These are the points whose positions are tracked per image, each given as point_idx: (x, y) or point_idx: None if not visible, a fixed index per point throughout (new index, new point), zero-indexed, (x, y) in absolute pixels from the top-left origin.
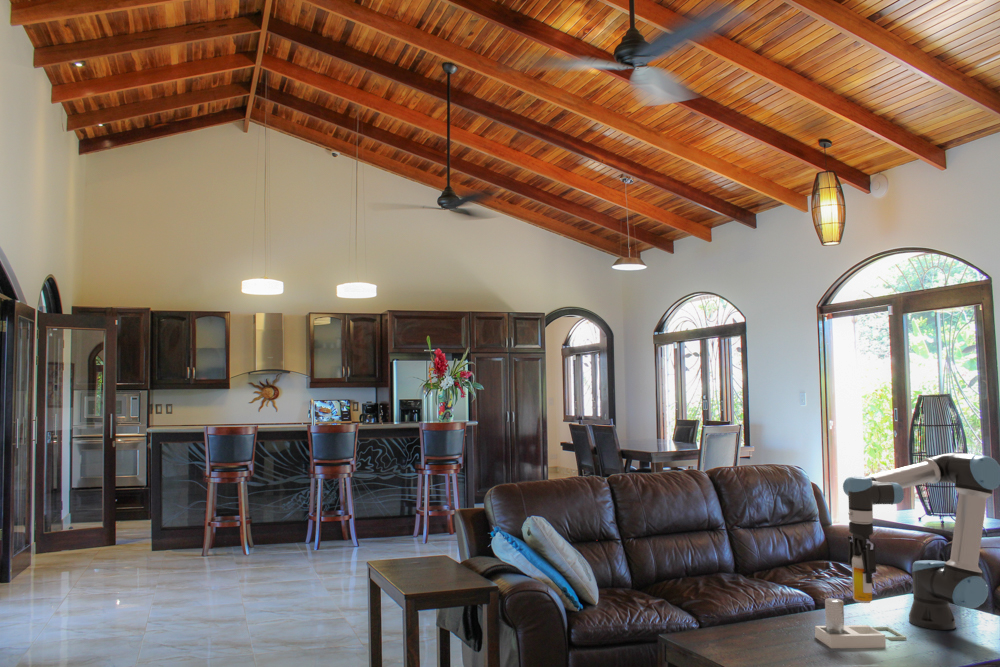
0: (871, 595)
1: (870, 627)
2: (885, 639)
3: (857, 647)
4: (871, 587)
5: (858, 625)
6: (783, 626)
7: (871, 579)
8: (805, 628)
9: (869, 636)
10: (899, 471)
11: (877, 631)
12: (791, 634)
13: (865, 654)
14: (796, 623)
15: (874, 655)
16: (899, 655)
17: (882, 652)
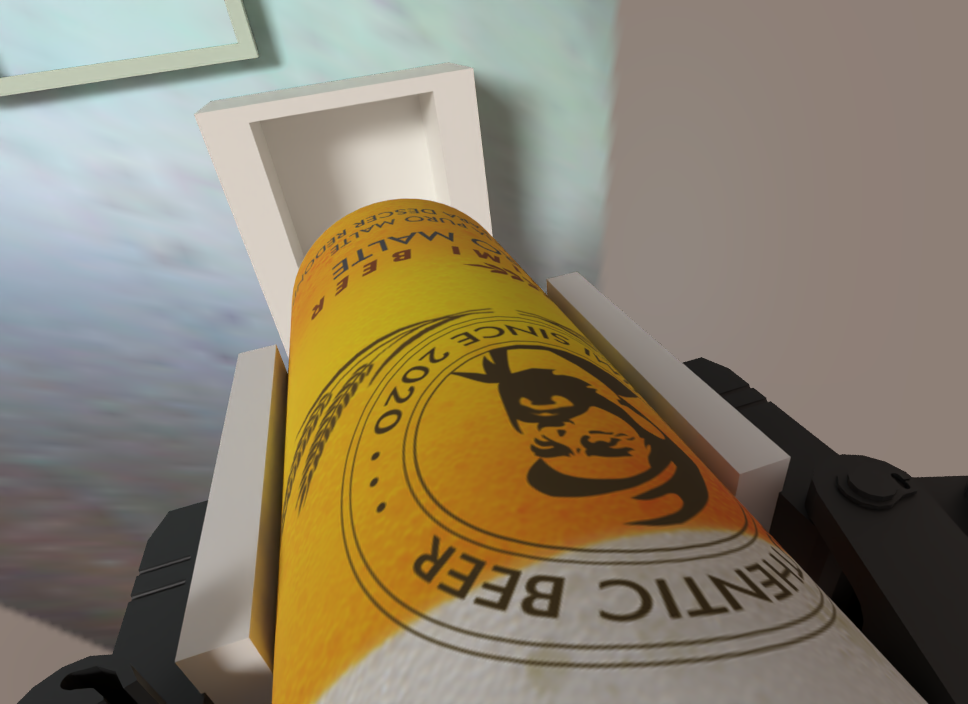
0: (498, 244)
1: (271, 113)
2: (464, 66)
3: None
4: (612, 311)
5: (239, 202)
6: (129, 541)
7: (760, 403)
8: (119, 450)
9: (486, 199)
10: None
11: (381, 95)
12: None
13: (547, 233)
14: (15, 487)
15: (562, 189)
16: (564, 20)
17: (514, 117)
